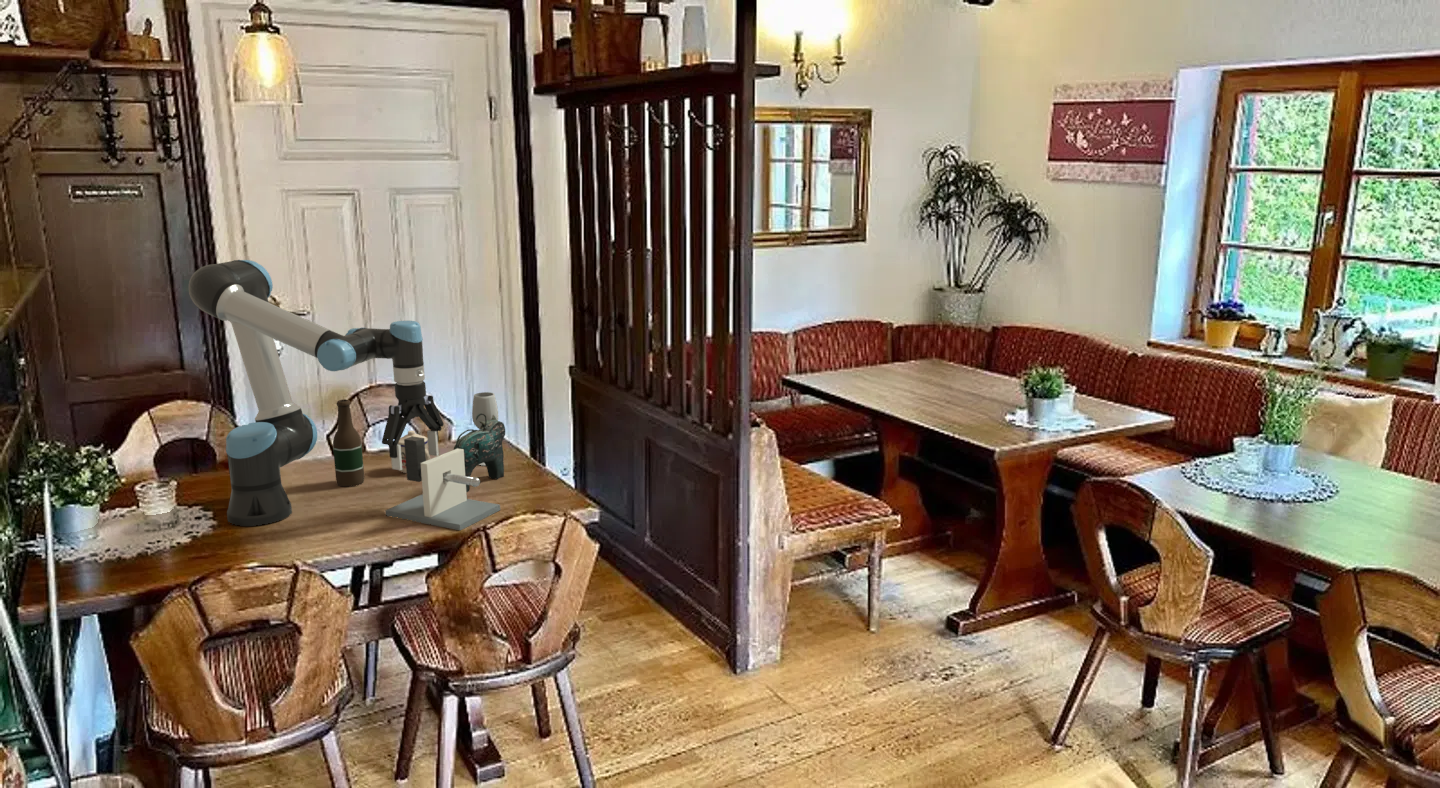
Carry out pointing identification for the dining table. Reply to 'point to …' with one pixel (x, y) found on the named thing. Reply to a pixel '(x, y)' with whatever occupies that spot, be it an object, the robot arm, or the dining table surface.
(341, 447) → the beer bottle
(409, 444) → the hook rod
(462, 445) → the green animal figurine
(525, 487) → the dining table surface
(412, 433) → the teacup with lid
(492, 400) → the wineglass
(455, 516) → the panel with square hole
